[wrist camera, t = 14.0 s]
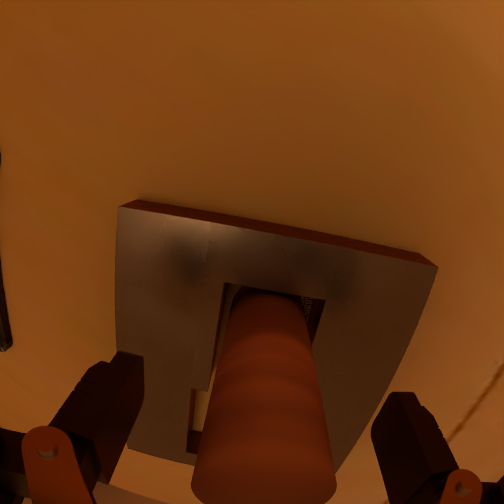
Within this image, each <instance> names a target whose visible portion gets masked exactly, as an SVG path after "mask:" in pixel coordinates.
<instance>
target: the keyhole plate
mask: <svg viewBox="0 0 504 504" xmlns="http://www.w3.org/2000/svg"><path fill="white" fill-rule="evenodd" d="M437 270H438V267H437V266H436V265H435V264H433V263H432V262H431V261H429V260H428V259H427V258H425V257H424V256H422V255H421V254H419V253H414V252H410V251H405V250H401V249H396V248H392V247H387V246H383V245H378V244H374V243H369V242H364V241H359V240H355V239H350V238H345V237H340V236H336V235H331V234H326V233H321V232H316V231H311V230H306V229H301V228H296V227H290V226H285V225H280V224H275V223H270V222H264V221H259V220H254V219H248V218H243V217H237V216H232V215H226V214H220V213H215V212H209V211H203V210H197V209H191V208H185V207H179V206H173V205H167V204H161V203H155V202H149V201H142V200H134V201H132V202H129V203H126V204H124V205H121V206H119V207H118V218H117V234H116V257H115V323H116V346H117V352H118V351H119V350H123V351H126V352H130V353H134V354H138V355H141V356H143V358H144V385H145V394H144V400H143V404H142V407H141V410H140V412H139V414H138V417H137V419H136V421H135V423H134V426H133V428H132V430H131V432H130V435H129V437H128V439H127V446H128V449H131V450H135V451H138V452H141V453H145V454H148V455H152V456H155V457H159V458H163V459H167V460H171V461H175V462H179V463H184V464H188V465H193V466H195V463H196V459H197V454H198V450H199V445H200V441H201V436H202V433H201V432H196V431H192V420H193V410H194V400H195V390H196V389H197V390H202V391H207V392H208V388H209V384H210V380H211V376H212V372H213V367H214V360H215V354H216V347H217V341H218V334H219V328H220V321H221V315H222V309H223V302H224V296H225V290H226V284H227V283H232V284H237V285H242V286H248V287H253V288H259V289H264V290H270V291H276V292H281V293H287V294H293V295H299V296H305V297H311V298H315V299H314V302H313V306H312V309H311V313H310V316H309V320H308V323H307V329H308V334H309V338H310V343H311V348H312V353H313V358H314V363H315V367H316V372H317V377H318V383H319V388H320V393H321V398H322V403H323V409H324V414H325V419H326V425H327V430H328V436H329V442H330V447H331V453H332V459H333V465H334V471H335V473H336V472H337V471H338V469H339V468H340V466H341V465H342V463H343V462H344V460H345V459H346V457H347V456H348V454H349V453H350V451H351V450H352V448H353V447H354V445H355V444H356V442H357V440H358V439H359V437H360V436H361V434H362V432H363V431H364V429H365V427H366V426H367V424H368V422H369V421H370V419H371V417H372V416H373V414H374V412H375V410H376V408H377V407H378V405H379V403H380V401H381V399H382V398H383V396H384V394H385V392H386V390H387V388H388V386H389V384H390V382H391V380H392V378H393V376H394V374H395V372H396V370H397V368H398V366H399V364H400V362H401V360H402V358H403V356H404V354H405V351H406V349H407V347H408V345H409V343H410V340H411V338H412V336H413V333H414V331H415V329H416V326H417V324H418V322H419V319H420V317H421V314H422V312H423V309H424V306H425V304H426V301H427V299H428V296H429V293H430V290H431V288H432V285H433V282H434V279H435V276H436V273H437Z"/></svg>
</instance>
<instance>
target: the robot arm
mask: <svg viewBox="0 0 504 504" xmlns="http://www.w3.org/2000/svg"><path fill="white" fill-rule="evenodd" d="M144 394H145V385H144V358H143V356H141V355H138V354H134V353H130V352H126V351H123V350H119V351H118V352H117V353H116V355H115V356H114V358H113V359H112V361H111V362H110V363H107V362H104V361H100V362H98V363H97V364H95V365H93V366H92V367H90V368H89V369H88V370H87V371H86V373H85V374H84V375H83V377H82V378H81V381H79V382H78V384H77V385H76V387H75V389H74V391H72V392H71V394H70V395H69V396H68V398H67V399H66V401H65V402H64V404H63V405H62V407H61V408H60V409H59V411H58V412H57V414H56V415H55V417H54V418H53V420H52V421H51V422H50V424H49V425H48V426H39V427H36V428H33V429H31V430H30V431H28V432H27V433H20V432H16V431H11V430H7V429H2V428H0V504H22V502H23V500H24V498H25V497H26V498H30V499H31V500H32V504H97V502H96V499H95V497H94V494H93V489H94V487H95V485H96V482H97V481H99V482H102V483H105V484H107V485H108V484H109V482H110V479H111V477H112V475H113V472H114V470H115V467H116V465H117V463H118V460H119V458H120V456H121V453H122V451H123V449H124V446H125V444H126V442H127V439H128V437H129V435H130V432H131V430H132V428H133V426H134V423H135V421H136V419H137V417H138V414H139V412H140V410H141V407H142V404H143V400H144ZM438 427H439V426H438V424H437V422H436V420H435V418H434V416H433V415H432V414H431V413H430V412H429V411H428V410H427V409H426V408H425V407H424V406H421V405H420V403H419V401H418V399H417V397H416V395H415V394H414V393H413V392H391V393H390V394H389V396H388V397H387V399H386V401H385V403H384V405H383V406H382V408H381V410H380V412H379V413H378V415H377V417H376V418H375V420H374V422H373V424H372V428H371V439H372V442H373V446H374V449H375V453H376V456H377V459H378V463H379V466H380V470H381V473H382V477H383V480H384V484H385V488H386V491H387V495H388V499H389V502H390V504H504V476H503V477H502V478H501V479H500V480H499V481H498V482H497V483H494V482H481V481H480V479H479V478H478V476H477V475H476V474H474V473H473V472H471V471H469V470H466V469H459V467H458V465H457V463H456V461H455V458H454V456H453V454H452V452H451V450H450V448H449V446H448V444H447V442H446V440H445V438H444V437H443V434H442V432H441V430H440V429H438Z"/></svg>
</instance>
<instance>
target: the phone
mask: <svg viewBox="0 0 504 504" xmlns="http://www.w3.org/2000/svg"><path fill="white" fill-rule="evenodd" d="M0 164H1V154H0ZM12 343H13V342H12V336H11V331H10V326H9V321H8V315H7V309H6V303H5V296H4V289H3V280H2V271H1V260H0V351H1V352H5V351H6V350H8V349H9V348H10V347H11V346H12Z"/></svg>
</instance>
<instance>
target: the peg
mask: <svg viewBox="0 0 504 504" xmlns="http://www.w3.org/2000/svg"><path fill="white" fill-rule="evenodd" d="M336 487H337V483H336V477H335V471H334V465H333V459H332V453H331V447H330V442H329V436H328V430H327V425H326V419H325V414H324V409H323V403H322V398H321V393H320V388H319V383H318V377H317V372H316V367H315V363H314V358H313V353H312V348H311V343H310V338H309V334H308V329H307V324H306V320H305V315H304V310H303V306H302V302H301V299H300V296H299V295H293V294H287V293H281V292H276V291H270V290H264V289H259V288H253V287H248V286H242V287H241V288H240V289H239V290H238V291H237V293H236V294H235V296H234V298H233V301H232V305H231V309H230V314H229V318H228V322H227V327H226V331H225V335H224V340H223V344H222V348H221V353H220V357H219V361H218V366H217V370H216V374H215V379H214V383H213V388H212V392H211V396H210V401H209V405H208V410H207V414H206V419H205V423H204V427H203V432H202V436H201V441H200V445H199V450H198V454H197V459H196V463H195V468H194V472H193V477H192V481H191V488H192V491H193V493H194V495H195V496H196V497H197V498H198V499H199V500H200V501H201V502H202V503H204V504H325V503H326V502H327V501H328V500H329V499H330V498H331V497H332V496H333V495H334V493H335V491H336Z"/></svg>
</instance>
